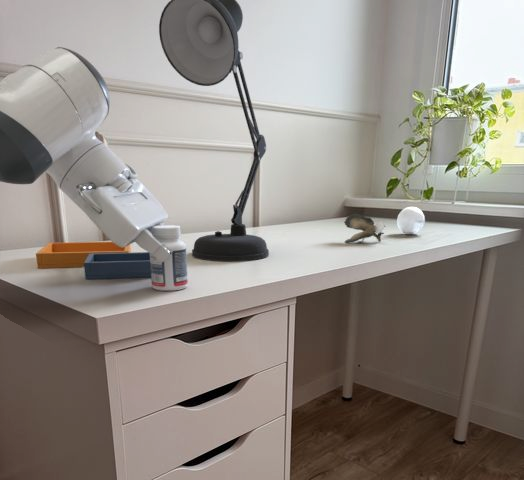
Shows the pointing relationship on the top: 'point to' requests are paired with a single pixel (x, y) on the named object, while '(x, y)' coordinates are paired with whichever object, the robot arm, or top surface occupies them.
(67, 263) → the amber tray
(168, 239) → the pill bottle
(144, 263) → the slate tray
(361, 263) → the top surface
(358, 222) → the eagle figurine
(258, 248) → the desk lamp
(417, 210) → the white egg
